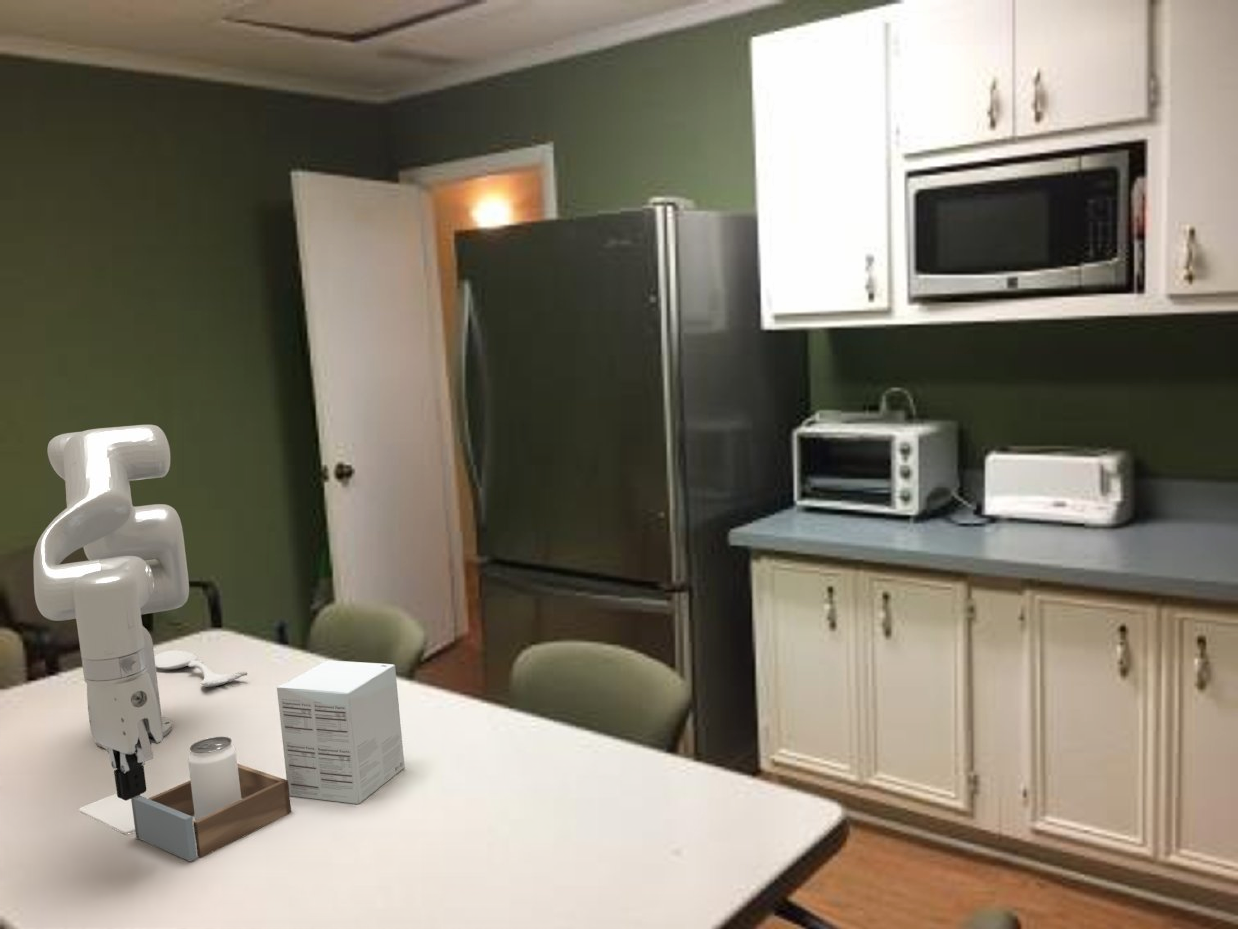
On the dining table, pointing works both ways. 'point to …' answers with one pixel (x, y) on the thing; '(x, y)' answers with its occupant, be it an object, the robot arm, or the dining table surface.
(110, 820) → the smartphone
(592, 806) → the dining table surface
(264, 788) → the bin
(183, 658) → the spoon
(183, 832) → the bin gate
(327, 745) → the supplement box
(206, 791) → the can
